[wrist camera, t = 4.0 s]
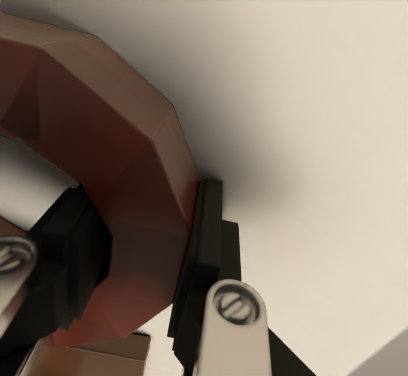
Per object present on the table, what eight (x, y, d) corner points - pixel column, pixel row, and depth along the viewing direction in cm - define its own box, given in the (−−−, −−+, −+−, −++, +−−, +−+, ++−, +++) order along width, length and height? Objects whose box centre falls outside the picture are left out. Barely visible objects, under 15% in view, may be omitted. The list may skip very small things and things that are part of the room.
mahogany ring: (-147, -25, 8) (-323, -41, 5) (228, 68, 8) (229, 93, 6) (-60, 255, 12) (-130, 314, 10) (170, 301, 13) (157, 368, 10)
